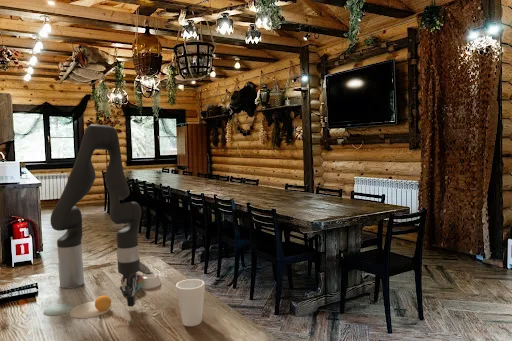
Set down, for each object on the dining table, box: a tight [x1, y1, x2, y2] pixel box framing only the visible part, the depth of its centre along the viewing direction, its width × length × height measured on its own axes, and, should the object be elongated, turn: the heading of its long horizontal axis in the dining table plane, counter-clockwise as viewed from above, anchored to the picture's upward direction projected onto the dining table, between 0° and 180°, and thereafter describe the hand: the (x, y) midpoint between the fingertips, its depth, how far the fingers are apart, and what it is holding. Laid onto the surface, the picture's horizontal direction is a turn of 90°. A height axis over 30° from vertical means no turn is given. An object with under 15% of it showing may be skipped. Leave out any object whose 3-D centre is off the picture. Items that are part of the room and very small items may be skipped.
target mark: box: [69, 300, 112, 319], centre depth 151 cm, size 14×14×1 cm
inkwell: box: [138, 261, 162, 290], centre depth 175 cm, size 9×18×10 cm, turn 66°
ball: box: [95, 294, 112, 311], centre depth 149 cm, size 6×6×6 cm
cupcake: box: [120, 272, 143, 293], centre depth 167 cm, size 9×8×12 cm
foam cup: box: [175, 278, 206, 327], centre depth 138 cm, size 10×9×13 cm
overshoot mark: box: [43, 302, 75, 317], centre depth 152 cm, size 10×10×1 cm
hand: (131, 305), depth 150 cm, fingers closed
